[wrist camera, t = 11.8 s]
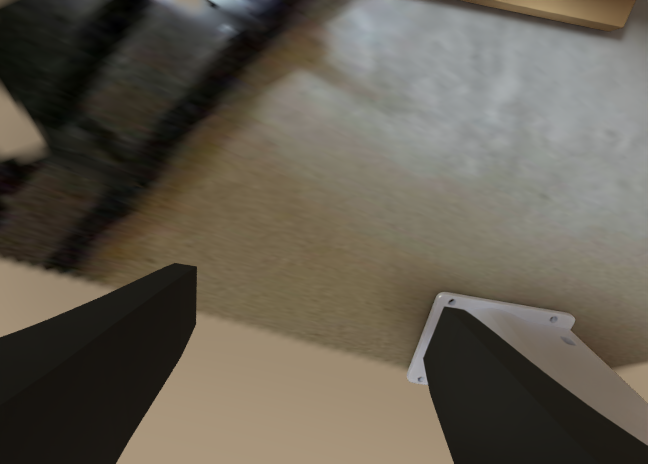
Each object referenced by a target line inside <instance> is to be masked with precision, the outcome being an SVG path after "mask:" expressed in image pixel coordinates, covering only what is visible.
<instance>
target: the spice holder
mask: <svg viewBox="0 0 648 464" xmlns="http://www.w3.org/2000/svg"><path fill="white" fill-rule="evenodd" d="M460 1H465V2H470V3H475V4H479V5H484V6H489V7H494V8H498V9H503V10H508V11H513V12H518V13H522V14H527V15H532V16H537V17H542V18H546V19H551V20H556V21H561V22H566V23H570V24H575V25H580V26H585V27H590V28H594V29H599V30H604V31H612V30H616V29H619V28H623V27H624V25H625V22H626V20H627V18H628V16H629V14H630V12H631V10H632V8H633V5H634V3H635V1H636V0H460Z"/></svg>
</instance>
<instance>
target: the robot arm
mask: <svg viewBox="0 0 648 464" xmlns="http://www.w3.org/2000/svg"><path fill="white" fill-rule="evenodd" d="M196 287H197V266H190V265H184V264H178V263H174V264H171V265H169V266H166V267H164V268H162V269H160V270H157V271H155V272H153V273H151V274H149V275H147V276H145V277H143V278H140V279H138V280H136V281H134V282H132V283H130V284H128V285H126V286H123V287H121V288H119V289H117V290H115V291H113V292H111V293H108V294H107V295H104V296H102V297H100V298H97V299H95V300H93V301H90V302H88V303H86V304H83V305H81V306H79V307H76V308H74V309H72V310H69V311H67V312H65V313H62V314H60V315H58V316H55V317H53V318H50V319H48V320H45V321H43V322H40V323H38V324H35V325H33V326H30V327H27V328H25V329H22V330H19V331H17V332H14V333H11V334H8V335H6V336H3V337H0V464H116V462H117V461H118V459H119V457H120V455H121V454H122V452H123V450H124V448H125V447H126V445H127V443H128V441H129V440H130V438H131V437H132V435H133V433H134V432H135V430H136V429H137V427H138V425H139V424H140V422H141V420H142V418H143V417H144V416H145V414H146V413H147V411H148V409H149V408H150V406H151V405H152V403H153V401H154V400H155V398H156V396H157V395H158V393H159V391H160V390H161V389H162V387H163V385H164V384H165V382H166V380H167V379H168V377H169V376H170V374H171V372H172V371H173V369H174V367H175V366H176V364H177V363H178V361H179V359H180V357H181V356H182V354H183V351H184V349H185V347H186V345H187V343H188V341H189V338H190V336H191V334H192V332H193V330H194V328H195V325H196ZM451 299H454V300H453V301H452V302H449V300H451ZM551 317H553V318H551ZM550 318H551V319H550ZM574 323H575V318H574V317H573V316H572V315H571V314H570V313H566V312H560V311H554V310H549V309H543V308H537V307H531V306H525V305H519V304H514V303H508V302H502V301H496V300H490V299H484V298H479V297H473V296H467V295H461V294H455V293H449V292H441V293H439V294H438V295H437V296H436V298H435V301H434V304H433V306H432V309H431V312H430V314H429V317H428V319H427V322H426V325H425V327H424V330H423V333H422V335H421V338H420V341H419V343H418V346H417V349H416V351H415V354H414V356H413V359H412V362H411V364H410V367H409V370H408V372H407V378H408V380H409V381H410V382H412V383H418V384H424V385H428V386H429V391H430V394H431V398H432V401H433V404H434V407H435V410H436V413H437V415H438V418H439V421H440V424H441V427H442V430H443V433H444V436H445V439H446V442H447V445H448V447H449V450H450V453H451V456H452V459H453V461H454V464H648V403H647V402H646V401H645V400H644V399H643V398H642V397H641V396H640V395H639V394H638V393H636V392H635V391H634V390H633V389H632V388H631V387H630V386H629V385H628V384H627V383H626V382H625V381H624V380H623V379H622V378H621V377H619V376H618V375H617V374H616V373H615V372H614V371H613V370H612V369H611V368H610V367H609V366H608V365H607V364H606V363H605V362H604V361H603V360H601V359H600V358H599V357H598V356H597V355H596V354H595V353H594V352H593V351H592V350H591V349H590V348H589V347H588V346H587V345H586V344H585V343H583V342H582V341H581V340H580V339H579V338H578V337H577V336H576V335H575V334H574V333H573V332H572V331H571V330H570V329H571V328H572V326H573V325H574ZM419 377H421V378H419Z"/></svg>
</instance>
